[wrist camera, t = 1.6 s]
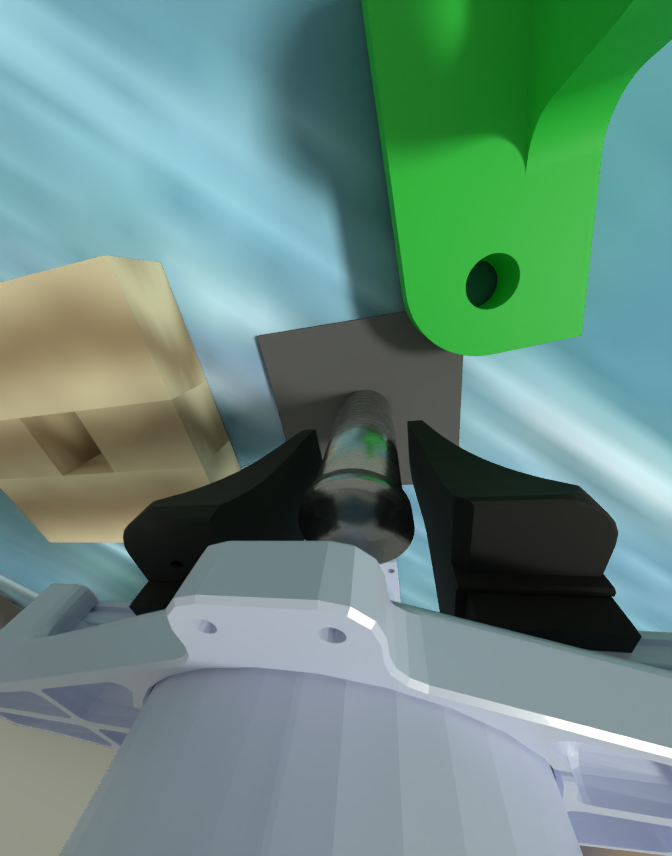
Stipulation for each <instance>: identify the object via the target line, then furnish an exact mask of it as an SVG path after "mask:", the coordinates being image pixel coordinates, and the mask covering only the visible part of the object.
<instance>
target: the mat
mask: <svg viewBox="0 0 672 856" xmlns="http://www.w3.org/2000/svg"><path fill="white" fill-rule="evenodd" d="M257 337H258V341H259V344H260V348H261V352H262V355H263V359H264V362H265V366H266V369H267V373H268V376H269V380H270V384H271V387H272V391H273V394H274V398H275V401H276V405H277V408H278V412H279V416H280V419H281V423H282V426H283V430H284V433H285V437H286V441H288V440H289V439H290V438H292V437H293V436H294V435H296V434H297V433H299V432H301V431H302V430H310V429H316V433H317V437H318V442H319V446H320V451H321V456H322V460H323V458H324V455H325V452H326V448H327V445H328V442H329V439H330V436H331V433H332V430H333V427H334V424H335V421H336V417H337V414H338V411H339V408H340V405H341V403H342V402H343V400H344V399H345V398H346V397H347V396H348V395H350V394H351V393H353V392H356V391H359V390H371V391H375V392H377V393H379V394H381V395H383V396H384V397H385V398H386V399H387V400H388V402H389V403H390V405H391V408H392V413H393V421H394V429H395V436H396V444H397V452H398V460H399V468H400V475H401V483H402V485H408V484H413V482H412V477H411V470H410V464H409V449H408V429H407V421H416V420H422V421H424V422H425V423H426V424H427V425H429V426H430V427H431V428H432V429H434V430H435V431H436V432H438V433H439V434H440V435H442V436H443V437H444V438H446V439H447V440H449V441H450V442H452V443H454V444H455V445H457V446H458V447H459V429H460V408H461V387H462V366H463V355H460V354H456V353H452V352H450V351H447V350H445V349H443V348H441V347H439V346H437V345H436V344H434V343H433V342H432V341H430V340H429V339H428V338H426V337H425V336H424V335H423V334H421V333H420V332H419V331H418V330H417V329H416V327H415V326H414V325H413V323H412V322H411V320H410V318H409V317H408V315H407V312H400V313H394V314H387V315H381V316H375V317H369V318H363V319H357V320H351V321H345V322H339V323H333V324H326V325H320V326H314V327H308V328H302V329H296V330H290V331H284V332H278V333H271V334H265V335H259V336H257Z"/></svg>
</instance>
